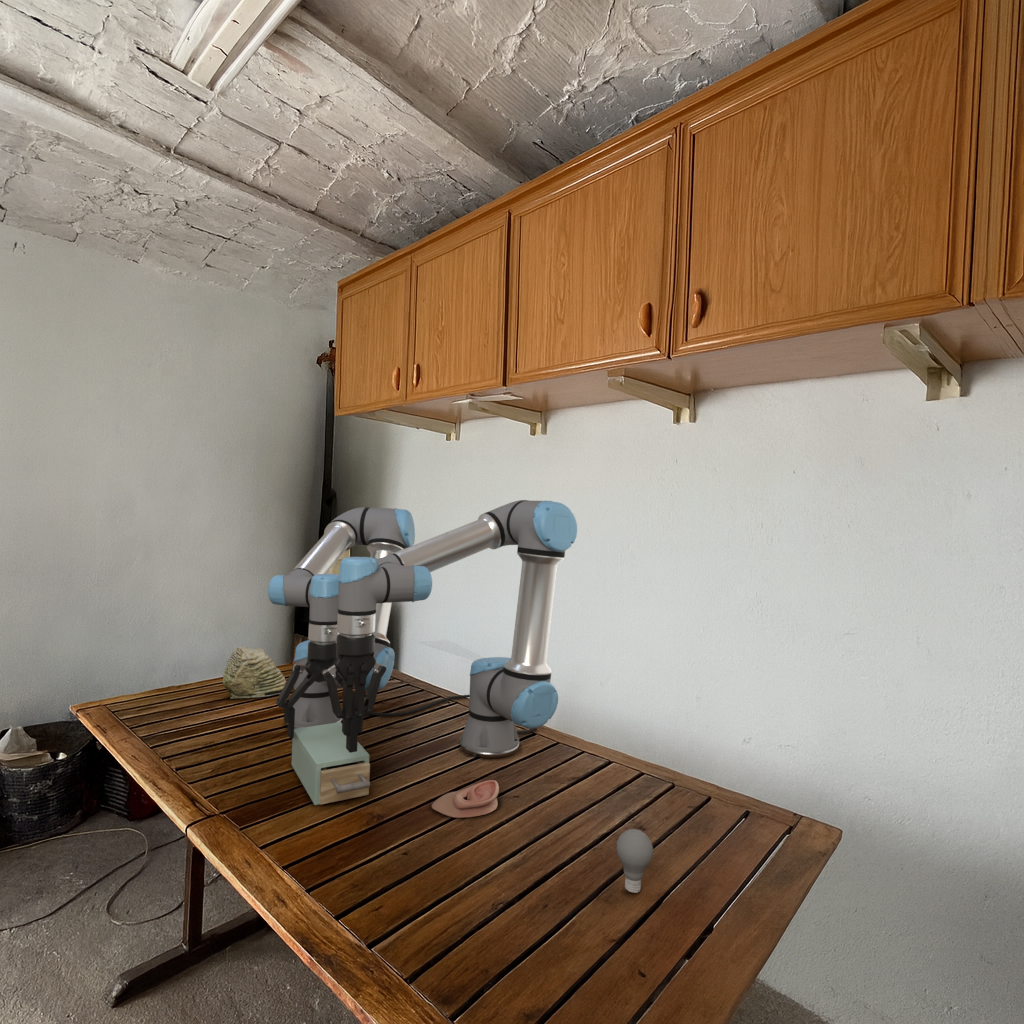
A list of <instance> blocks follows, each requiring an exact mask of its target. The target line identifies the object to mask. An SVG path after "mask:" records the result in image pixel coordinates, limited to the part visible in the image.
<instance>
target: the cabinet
mask: <svg viewBox="0 0 1024 1024" xmlns="http://www.w3.org/2000/svg"><path fill="white" fill-rule="evenodd" d="M291 739H292V740H291V742H292V743H291V767H292V768H293V770H294V772H295V775H297V777H298V779H299V780H300V783H301V784H302V786H303V788H304V789H305V791H306V793H307V794H308V796H309V798H310V800H311V801H312V803H313V805H314V806H319V805H321V804H320V802H319V797H320V772H321V768H325V767H330V766H336V765H342V764H347V763H353V762H358V761H362V763H366V762H369V763H370V754H369V752H367V750H365V748H364V747H363V746H362V745H361V743H360V742H359V741H358V742H357V752H351V753H350V752H349V751H348V750H347V749H346V736H345V735H344V734H343V732H342V723H341V722H338V723H331V724H324V725H317V726H310V727H303V728H296V729H294V738H291Z"/></svg>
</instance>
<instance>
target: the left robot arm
mask: <svg viewBox="0 0 1024 1024" xmlns="http://www.w3.org/2000/svg"><path fill="white" fill-rule="evenodd" d="M414 521H415V520H414V517H413V515H412V513H411V512H410V510H408V509H402V508H397V507H394V508H385V507H368V506H361V507H355V508H353V509H350V510H347V511H345V512H343V513H341V514H340V515H338V516H337V517H334V518H333V520H331V521H330V522H329V523H328V524H327V525H326V527H325V528H324V532H323V535H322V536H321V537H320V539H319V540H318V541H317V542H316V543H315V544H314V545H313V546H312V547H311V549H310V550H309V551H308V552H307V553H306V554H305V555H304V557H303V558H302V559H300V561H298V563H297V564H296V566H295V567H294V568H293V569H292V570H291V571H290V572H289V573H288V574H277V575H276V574H275V576H274V575H273V577H272V578H270V581H269V583H268V587H267V595H268V600H269V602H271V603H272V604H273V605H275V606H276V605H277V606H284V607H302V608H309V619H308V636H307V638H308V639H307V640H304V641H302V642H299V643H298V644H297V645H296V647H295V652H294V653H295V654H294V659H293V661H294V663H293V664H292V667H291V673H290V674H289V676H288V678H287V680H286V684H285V686H284V688H283V689H282V691H281V693H280V694H278V697H277V699H276V701H275V704H276V705H277V707H278V708H282V709H283V721H284V723H285V726H286V728H287V736H288V737H289V739H293V738H294V729H296V728H303V727H310V726H317V725H324V724H331V723H338V722H341V723H342V718H337V717H336V716H335V715H334V713H333V709H332V705H331V700H330V695H329V690H328V686H327V681H326V679H325V678H324V676H323V675H322V671H323V670H324V669H326V670H327V669H329V668H330V667H331V666H333V662H334V660H335V658H336V642H337V636H338V635H339V633H338V632H337V619H338V592H339V582H338V579H339V573H337V574H336V573H329V572H330V571H331V569H332V568H333V567H334V565H336V563H337V562H338V560H339V559H340V558H341V557H342V556H343V554H344V553H345V552H346V551H349V550H351V549H352V548H353V547H354V546H366V549H367V551H368V552H369V553H370V557H371V558H378V559H379V558H382V557H384V556H387V555H390V554H393V553H395V552H398V551H400V550H403V549H405V548H408V547H410V546H413V545H415V538H416V531H415V530H416V529H415V522H414ZM392 604H393V602H391V603H377V604H376V619H375V632H374V633H372V634H373V635H374V636H375V647H374V656H375V658H376V662H377V663H379V664H382V665H383V666H385V667H386V672H385V673H384V675H383V676H382V678H381V681H380V685H379V689H378V691H380V690H382V689H384V688H385V687H386V686H387V684H388V683H389V681H390V678H391V677H392V673H393V671H394V666H395V657H396V654H395V651H394V648H392V647H391V641H390V640H389V639H388V638H387V633H388V627H389V621H390V615H391V610H392ZM372 670H373V668H372ZM372 670H371V671H370V672H369V674H368V675H367V677H366V684H365V698H366V695H367V691H368V687H369V684H370V680H371V676H372V674H373V671H372ZM335 673H336V677H335V678H334V680H335V682H336V686H337V689H343V678H342V677H341V676H340V674H339V673H338V672H337V670H336V672H335ZM355 684H356V683H355V680H354V683H353V688H352V711H351V716H353V715H355V713H354V711H355ZM292 690H293V692H292ZM469 696H470V694H462V695H461V694H460V695H453V696H447V697H444V698H441V699H438V700H435V701H432V702H430V703H426V704H425V705H423V706H420V707H417V708H413V709H409V710H404V711H399V712H376V711H375V712H374V711H372V713H371V714H367V715H366V716H377V717H378V716H379V717H396V716H397V717H398V716H404V715H409V714H413V713H416V712H419V711H423V710H426V709H427V708H430V707H433V706H435V705H437V704H441V703H444V702H446V701H451V700H456V699H465V698H467V699H468V698H469ZM341 710H342V708H341Z"/></svg>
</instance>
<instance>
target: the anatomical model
mask: <svg viewBox="0 0 1024 1024" xmlns="http://www.w3.org/2000/svg"><path fill="white" fill-rule="evenodd" d="M499 793H500V786H499V782H498V781H497V780H495V779H489V780H485V781H481V782H478V783H475V784H472V785H470V786H467V787H466V788H463V789H461V790H458V791H451V792H447V793H445V794H443V795H442V796H440V797H438V798H437V799H435V800H434V801H433V803H432V804H431V808H432V810H434V811H436V812H438V813H439V814H442V815H444V816H447V817H451V818H454V819H455V818H457V819H459V818H460V819H461V818H463V819H464V818H474V817H480V816H484V815H487V814H490V813H492V812H494V811H495V810H496V809H498V806H499V805H498V804H499V803H498V802H499V801H498V796H499Z"/></svg>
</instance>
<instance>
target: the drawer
mask: <svg viewBox="0 0 1024 1024" xmlns="http://www.w3.org/2000/svg"><path fill="white" fill-rule="evenodd" d="M370 775H371V763H370V761H369V762H366V763H362V761H358V762H353V763H347V764H342V765H336V766H330V767H325V768H321V772H320V797H319V802H320V804H319V805H326V804H330V803H336V802H339V801H344V800H345V801H346V800H350V799H355V798H359V797H363V796H369V795H370V787H371V782H370V777H371V776H370Z"/></svg>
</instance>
